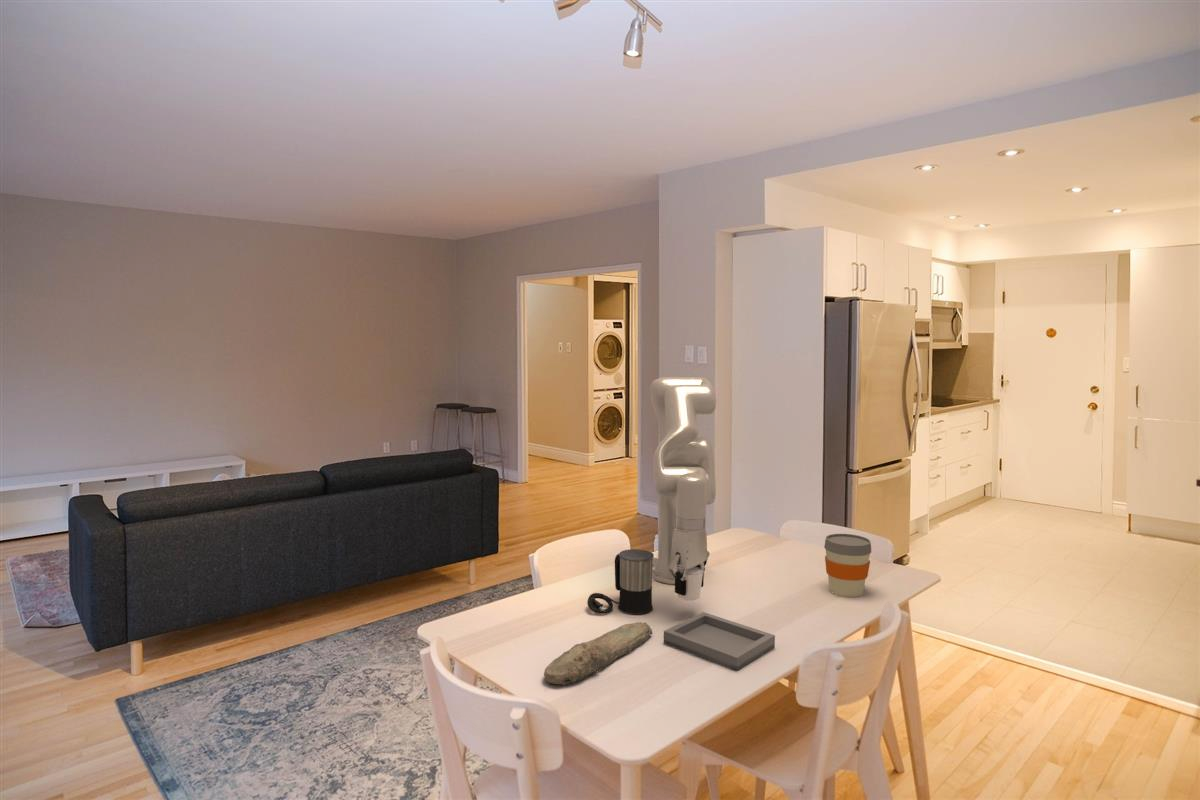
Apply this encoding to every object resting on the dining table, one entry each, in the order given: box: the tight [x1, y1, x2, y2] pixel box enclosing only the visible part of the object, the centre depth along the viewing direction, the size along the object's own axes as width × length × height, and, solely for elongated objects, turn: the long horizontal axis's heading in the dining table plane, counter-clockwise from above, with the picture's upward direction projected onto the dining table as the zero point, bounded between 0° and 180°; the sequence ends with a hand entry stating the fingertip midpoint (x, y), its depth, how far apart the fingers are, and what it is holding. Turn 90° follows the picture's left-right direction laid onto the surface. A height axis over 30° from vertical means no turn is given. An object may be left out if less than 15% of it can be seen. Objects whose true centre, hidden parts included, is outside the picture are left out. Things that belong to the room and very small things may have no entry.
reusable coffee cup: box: [824, 533, 872, 598], centre depth 201 cm, size 12×13×15 cm
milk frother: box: [586, 548, 655, 616], centre depth 186 cm, size 14×16×15 cm
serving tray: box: [663, 611, 776, 672], centre depth 165 cm, size 20×16×3 cm
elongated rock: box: [543, 621, 653, 686], centre depth 159 cm, size 35×5×10 cm
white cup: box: [677, 566, 703, 601], centre depth 182 cm, size 7×7×7 cm
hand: (689, 589), depth 183 cm, fingers closed on white cup, 6 cm apart
